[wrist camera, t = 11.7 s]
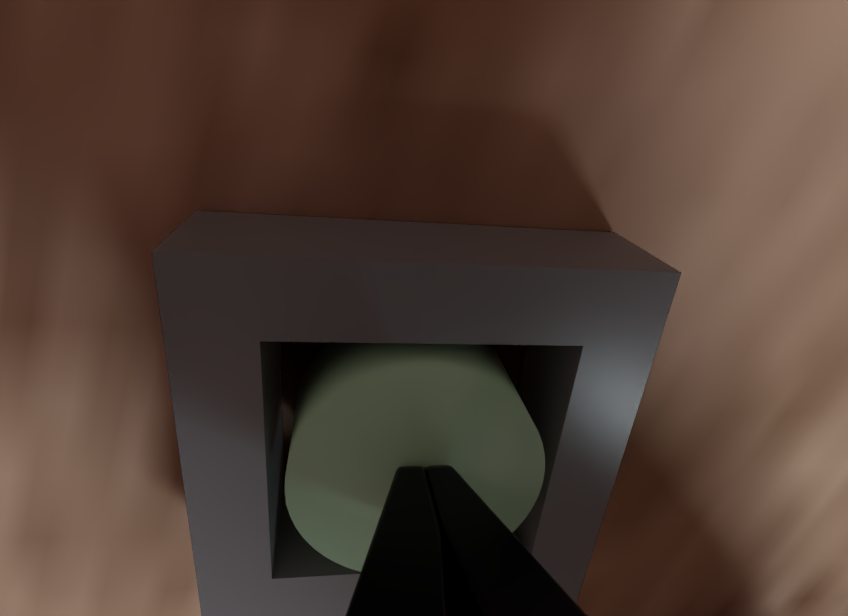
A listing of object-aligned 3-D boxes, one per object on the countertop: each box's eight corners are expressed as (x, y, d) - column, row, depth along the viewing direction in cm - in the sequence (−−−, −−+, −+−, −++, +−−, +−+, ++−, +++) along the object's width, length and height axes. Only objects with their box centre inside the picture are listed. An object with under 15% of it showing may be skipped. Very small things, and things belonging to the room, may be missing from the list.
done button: (525, 314, 9) (568, 375, 7) (492, 485, 11) (521, 569, 9) (295, 309, 8) (280, 373, 7) (298, 492, 10) (287, 583, 8)
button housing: (614, 232, 9) (680, 272, 7) (541, 522, 12) (576, 603, 10) (195, 210, 8) (151, 252, 6) (227, 536, 11) (203, 629, 9)
